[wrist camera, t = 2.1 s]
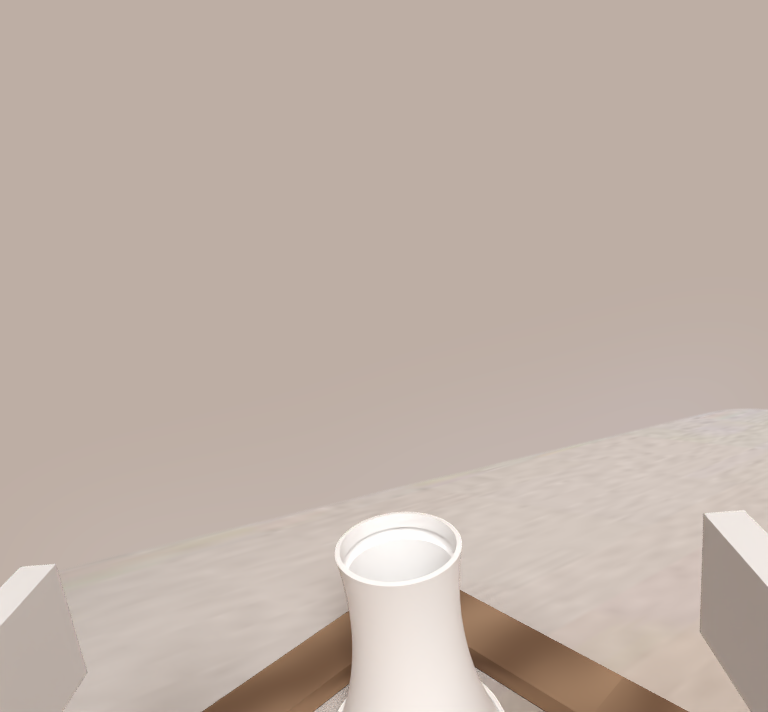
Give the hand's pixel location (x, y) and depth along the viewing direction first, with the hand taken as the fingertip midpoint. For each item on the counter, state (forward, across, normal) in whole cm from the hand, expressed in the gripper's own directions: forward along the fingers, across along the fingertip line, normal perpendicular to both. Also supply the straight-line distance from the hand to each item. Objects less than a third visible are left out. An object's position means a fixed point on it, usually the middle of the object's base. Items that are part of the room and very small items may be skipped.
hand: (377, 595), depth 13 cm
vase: (+10, 0, -16) cm, 19 cm away
